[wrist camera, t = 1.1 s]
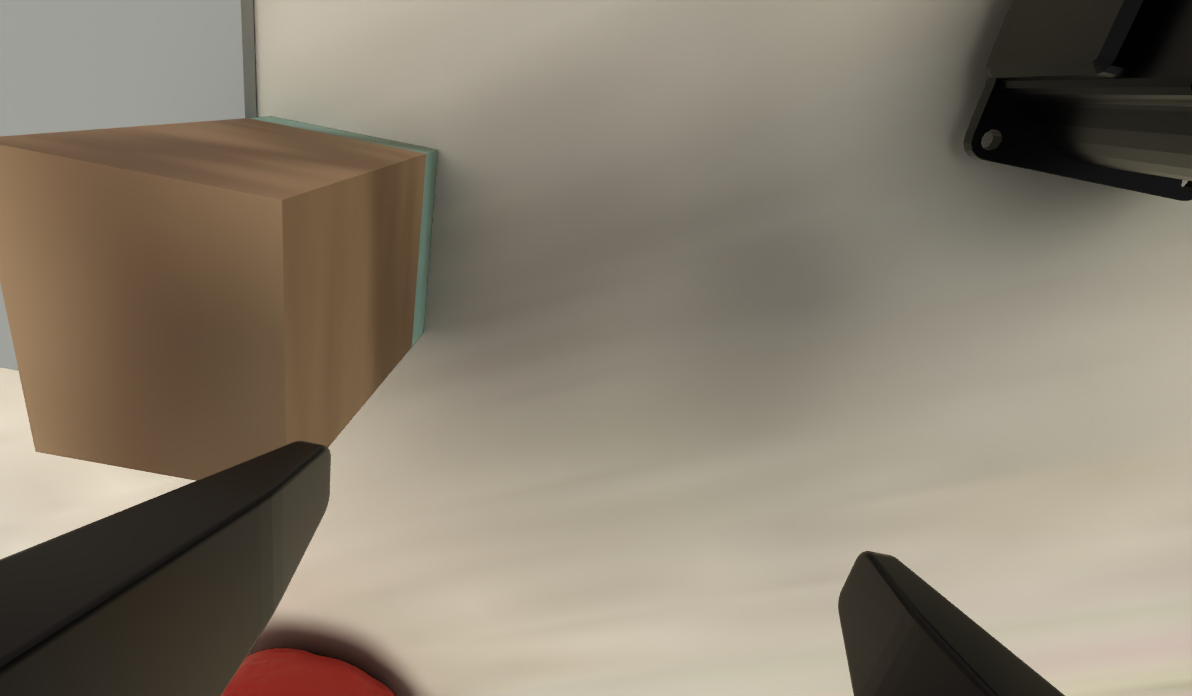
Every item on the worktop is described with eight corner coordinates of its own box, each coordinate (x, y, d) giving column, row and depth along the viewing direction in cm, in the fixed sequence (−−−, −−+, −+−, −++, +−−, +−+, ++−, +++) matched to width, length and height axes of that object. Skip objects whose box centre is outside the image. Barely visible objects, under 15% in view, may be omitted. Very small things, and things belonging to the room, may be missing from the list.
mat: (251, -43, 16) (238, -48, 16) (265, 406, 22) (256, 414, 21) (-128, -123, 16) (-154, -130, 15) (-17, 354, 22) (-34, 361, 21)
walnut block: (438, 150, 18) (281, 199, 10) (423, 332, 21) (287, 497, 12) (271, 116, 18) (-31, 138, 10) (275, 304, 20) (35, 451, 12)
